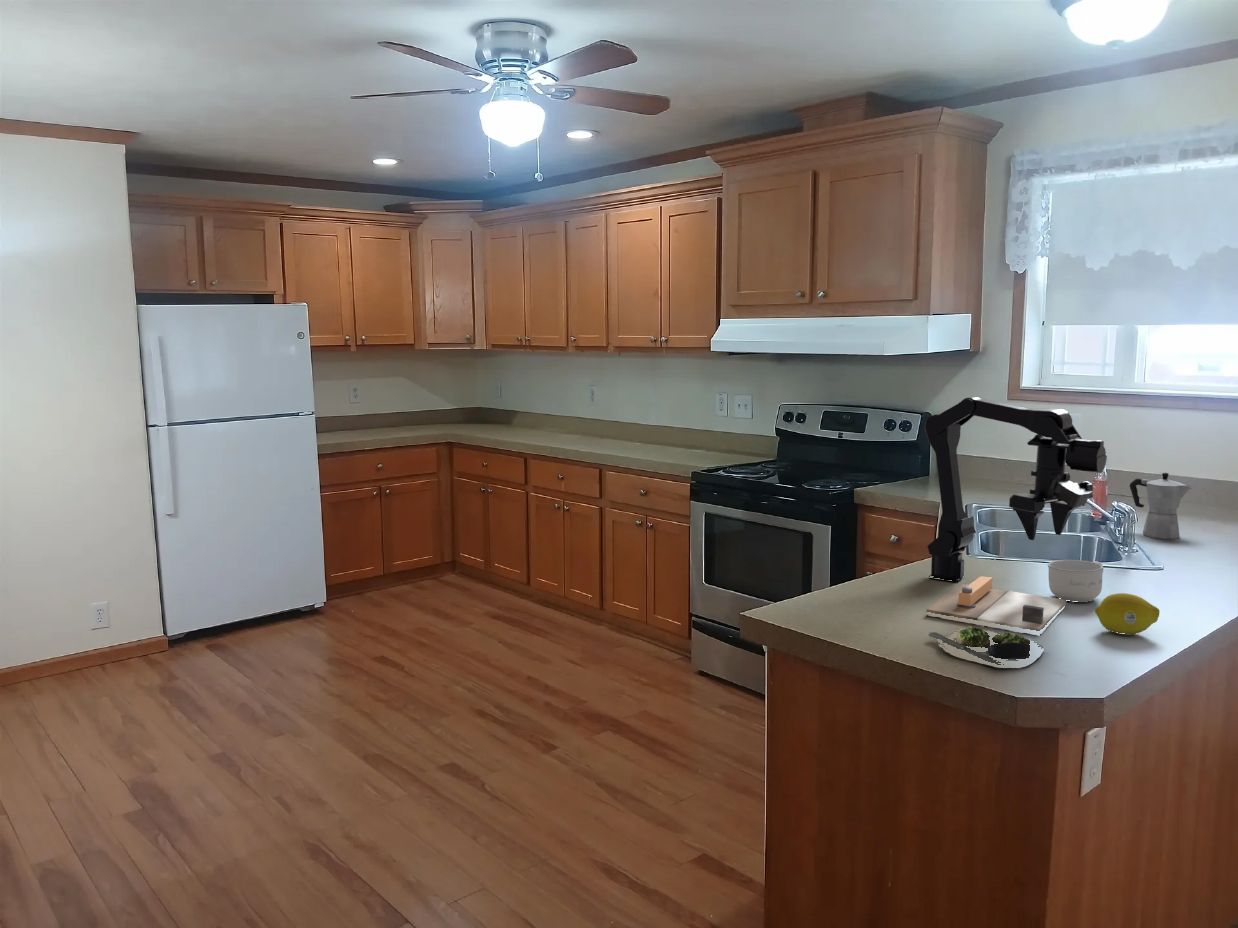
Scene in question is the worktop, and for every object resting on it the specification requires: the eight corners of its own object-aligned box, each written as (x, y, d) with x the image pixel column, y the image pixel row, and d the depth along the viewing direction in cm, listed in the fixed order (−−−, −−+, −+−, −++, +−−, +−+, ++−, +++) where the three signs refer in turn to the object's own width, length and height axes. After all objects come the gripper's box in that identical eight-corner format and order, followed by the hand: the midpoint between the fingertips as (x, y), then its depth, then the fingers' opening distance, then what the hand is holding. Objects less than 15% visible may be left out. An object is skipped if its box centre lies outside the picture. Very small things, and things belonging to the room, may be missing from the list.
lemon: (1091, 635, 174) (1094, 595, 173) (1095, 623, 181) (1098, 585, 180) (1156, 644, 169) (1159, 603, 167) (1158, 632, 175) (1161, 593, 174)
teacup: (1071, 608, 191) (1073, 572, 189) (1035, 594, 201) (1036, 559, 200) (1124, 602, 194) (1127, 566, 193) (1086, 588, 205) (1088, 554, 203)
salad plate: (910, 653, 167) (910, 629, 167) (949, 629, 180) (950, 607, 180) (1016, 679, 154) (1018, 653, 154) (1051, 651, 167) (1053, 627, 167)
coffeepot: (1192, 536, 252) (1197, 473, 250) (1182, 542, 246) (1187, 477, 243) (1132, 528, 263) (1136, 467, 261) (1121, 533, 257) (1125, 471, 254)
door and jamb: (926, 616, 187) (927, 595, 187) (961, 589, 205) (961, 570, 205) (1039, 636, 174) (1040, 614, 173) (1066, 606, 192) (1067, 586, 191)
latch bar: (970, 606, 187) (971, 590, 186) (958, 604, 189) (958, 588, 188) (991, 588, 199) (992, 574, 199) (980, 586, 201) (980, 572, 200)
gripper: (1057, 477, 183) (1051, 551, 186) (1112, 469, 192) (1105, 539, 195) (1009, 468, 193) (1004, 539, 195) (1064, 461, 202) (1058, 529, 204)
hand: (1044, 537), depth 197 cm, fingers open, 9 cm apart
